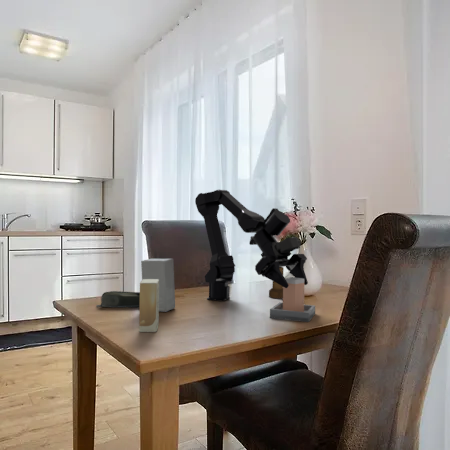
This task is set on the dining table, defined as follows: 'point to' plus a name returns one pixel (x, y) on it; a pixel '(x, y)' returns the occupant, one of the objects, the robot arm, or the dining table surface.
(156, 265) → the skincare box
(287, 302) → the grey-topped peach block
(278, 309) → the tray
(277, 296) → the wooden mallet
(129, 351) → the dining table surface
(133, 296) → the black stapler
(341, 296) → the dining table surface
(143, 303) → the skincare box
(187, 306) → the dining table surface
